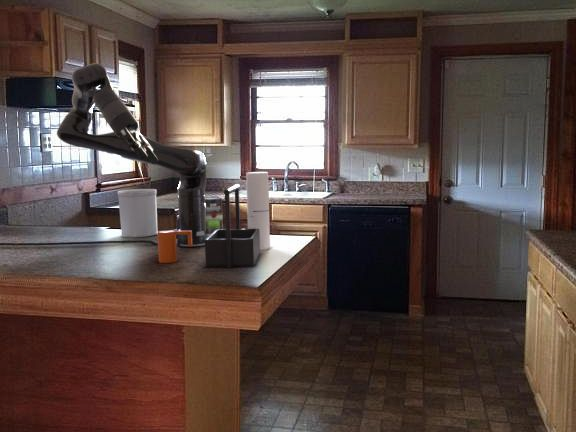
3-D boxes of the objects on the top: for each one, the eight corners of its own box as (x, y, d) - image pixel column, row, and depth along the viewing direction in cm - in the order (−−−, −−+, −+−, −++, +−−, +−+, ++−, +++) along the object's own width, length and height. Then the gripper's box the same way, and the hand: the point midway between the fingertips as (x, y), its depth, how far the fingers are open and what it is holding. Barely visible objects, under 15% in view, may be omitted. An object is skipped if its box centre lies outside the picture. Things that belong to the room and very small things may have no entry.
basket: (205, 268, 178) (201, 189, 176) (217, 253, 202) (215, 184, 200) (253, 267, 178) (251, 188, 175) (260, 252, 202) (258, 183, 199)
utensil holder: (139, 238, 240) (137, 192, 238) (111, 236, 248) (109, 191, 246) (166, 233, 252) (164, 189, 250) (139, 231, 260) (137, 188, 258)
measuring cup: (156, 263, 188) (155, 232, 187) (161, 259, 194) (159, 230, 193) (190, 262, 188) (189, 232, 187) (194, 259, 193) (192, 229, 192)
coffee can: (227, 234, 245) (226, 198, 243) (201, 236, 240) (200, 199, 239) (217, 231, 254) (216, 196, 253) (192, 233, 249) (191, 197, 248)
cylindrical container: (267, 250, 207) (265, 172, 204) (245, 249, 208) (243, 173, 205) (272, 246, 214) (270, 171, 211) (251, 246, 215) (249, 172, 212)
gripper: (120, 130, 199) (149, 171, 197) (99, 121, 185) (131, 165, 183) (138, 115, 199) (168, 156, 196) (119, 105, 185) (151, 149, 182)
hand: (150, 160), depth 190 cm, fingers open, 8 cm apart
